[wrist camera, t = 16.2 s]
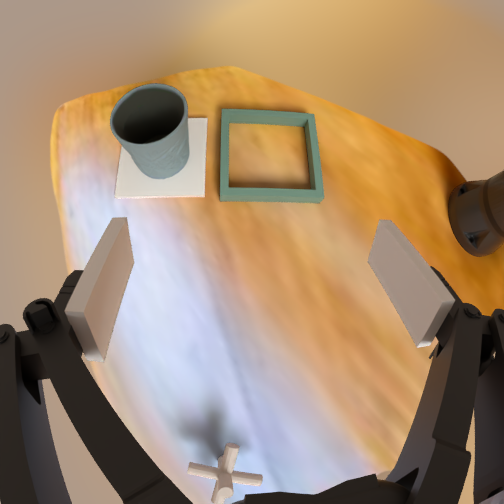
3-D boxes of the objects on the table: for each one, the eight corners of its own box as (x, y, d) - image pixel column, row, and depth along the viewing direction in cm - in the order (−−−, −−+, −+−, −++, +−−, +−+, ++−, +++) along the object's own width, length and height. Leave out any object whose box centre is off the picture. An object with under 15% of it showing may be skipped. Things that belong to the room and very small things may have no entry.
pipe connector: (197, 425, 40) (192, 452, 31) (264, 438, 41) (275, 467, 31) (185, 478, 38) (179, 512, 29) (248, 490, 39) (256, 524, 29)
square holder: (310, 121, 52) (314, 114, 49) (319, 203, 49) (324, 197, 46) (221, 117, 50) (221, 108, 48) (219, 201, 47) (220, 195, 45)
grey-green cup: (201, 171, 47) (197, 129, 35) (138, 194, 45) (116, 157, 34) (182, 121, 48) (176, 73, 37) (124, 141, 47) (104, 98, 35)
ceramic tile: (207, 120, 50) (207, 117, 49) (204, 196, 47) (204, 194, 46) (127, 123, 48) (126, 121, 48) (116, 198, 46) (114, 197, 45)
